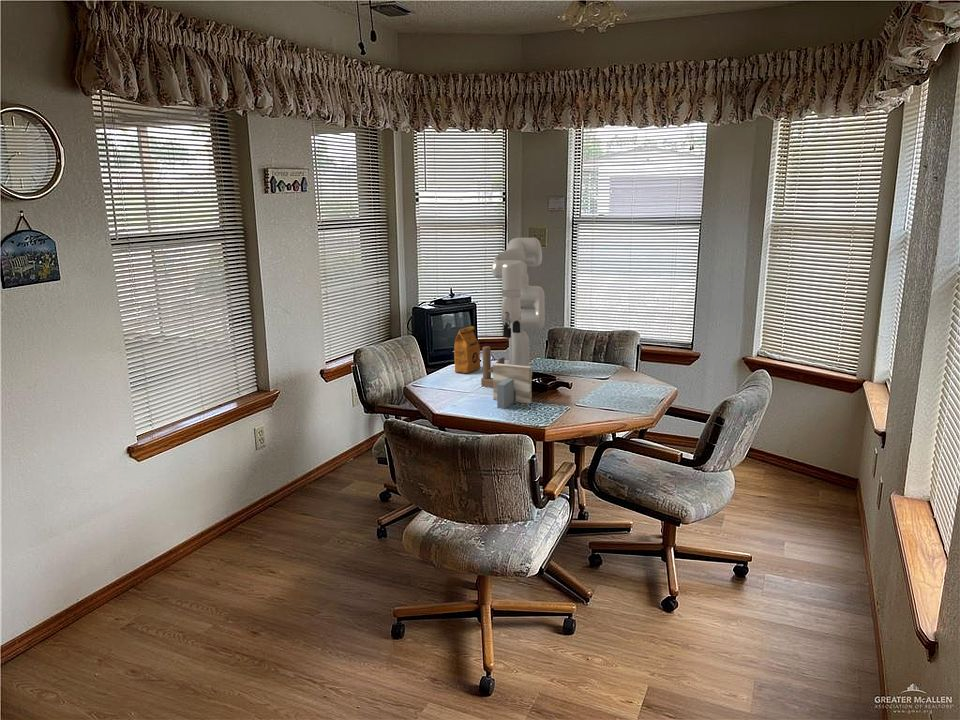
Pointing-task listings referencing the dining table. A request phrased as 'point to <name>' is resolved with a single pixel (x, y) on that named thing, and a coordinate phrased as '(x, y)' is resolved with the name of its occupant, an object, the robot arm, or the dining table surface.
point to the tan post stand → (488, 367)
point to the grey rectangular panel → (505, 393)
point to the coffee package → (466, 351)
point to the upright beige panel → (520, 377)
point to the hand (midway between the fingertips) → (511, 335)
